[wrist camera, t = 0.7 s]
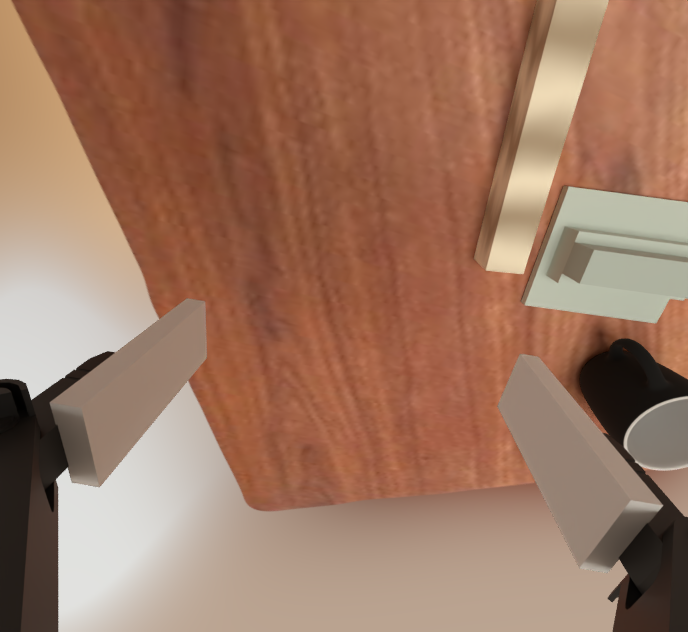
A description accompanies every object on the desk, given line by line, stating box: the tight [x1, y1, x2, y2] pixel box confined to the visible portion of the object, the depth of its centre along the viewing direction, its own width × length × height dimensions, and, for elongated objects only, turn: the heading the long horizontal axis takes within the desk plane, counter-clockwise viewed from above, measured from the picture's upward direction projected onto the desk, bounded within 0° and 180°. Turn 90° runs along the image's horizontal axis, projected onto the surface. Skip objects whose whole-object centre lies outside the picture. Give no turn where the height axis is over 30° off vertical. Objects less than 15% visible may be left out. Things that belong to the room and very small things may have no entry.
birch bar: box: [474, 0, 609, 274], centre depth 30 cm, size 22×4×4 cm, turn 175°
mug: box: [580, 339, 688, 470], centre depth 35 cm, size 12×9×10 cm
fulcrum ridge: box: [521, 186, 688, 323], centre depth 32 cm, size 12×14×6 cm
